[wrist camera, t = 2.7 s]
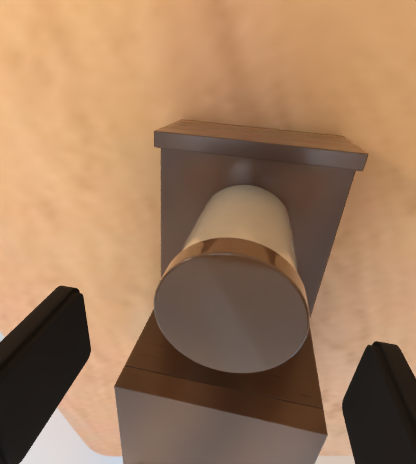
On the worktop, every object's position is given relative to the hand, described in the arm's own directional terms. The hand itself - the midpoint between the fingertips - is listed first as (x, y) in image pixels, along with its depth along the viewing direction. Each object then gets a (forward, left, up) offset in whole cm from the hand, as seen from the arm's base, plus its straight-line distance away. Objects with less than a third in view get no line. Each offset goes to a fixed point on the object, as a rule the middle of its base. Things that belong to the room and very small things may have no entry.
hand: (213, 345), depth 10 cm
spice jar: (0, 0, -8) cm, 8 cm away
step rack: (0, +6, -12) cm, 14 cm away
